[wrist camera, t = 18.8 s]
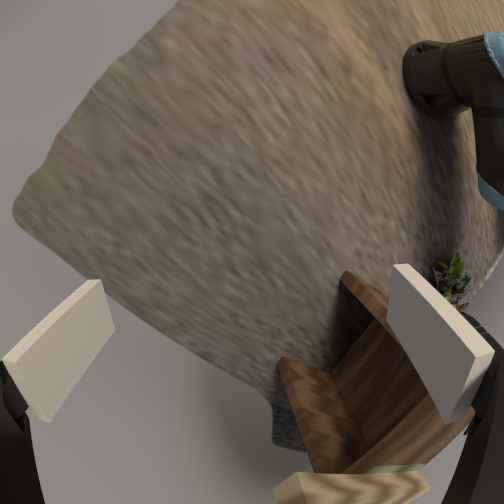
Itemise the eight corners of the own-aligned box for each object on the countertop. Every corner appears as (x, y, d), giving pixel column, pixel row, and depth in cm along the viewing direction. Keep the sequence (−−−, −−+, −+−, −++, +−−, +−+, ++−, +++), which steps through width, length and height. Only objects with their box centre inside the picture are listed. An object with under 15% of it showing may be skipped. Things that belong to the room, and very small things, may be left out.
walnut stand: (276, 363, 56) (324, 501, 27) (345, 269, 51) (458, 383, 23) (329, 381, 60) (386, 495, 31) (393, 300, 55) (493, 397, 27)
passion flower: (425, 281, 62) (430, 327, 54) (413, 253, 56) (420, 303, 49) (468, 268, 55) (479, 314, 48) (462, 237, 50) (476, 286, 42)
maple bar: (273, 488, 24) (280, 519, 20) (296, 471, 23) (306, 504, 19) (400, 485, 31) (410, 503, 27) (420, 470, 30) (431, 488, 26)
